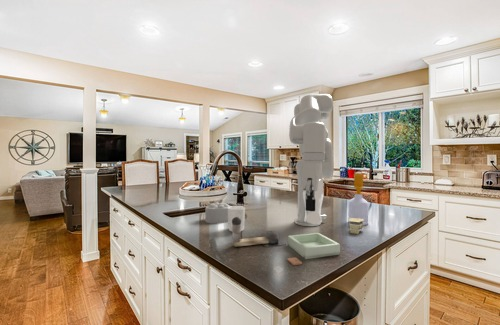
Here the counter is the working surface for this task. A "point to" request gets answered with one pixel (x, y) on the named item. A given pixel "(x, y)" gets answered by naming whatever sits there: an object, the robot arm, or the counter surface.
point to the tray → (313, 245)
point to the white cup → (236, 215)
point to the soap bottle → (358, 201)
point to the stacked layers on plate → (355, 225)
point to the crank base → (292, 260)
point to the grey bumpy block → (216, 213)
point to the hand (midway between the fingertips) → (313, 208)
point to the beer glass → (315, 216)
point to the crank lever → (237, 241)
